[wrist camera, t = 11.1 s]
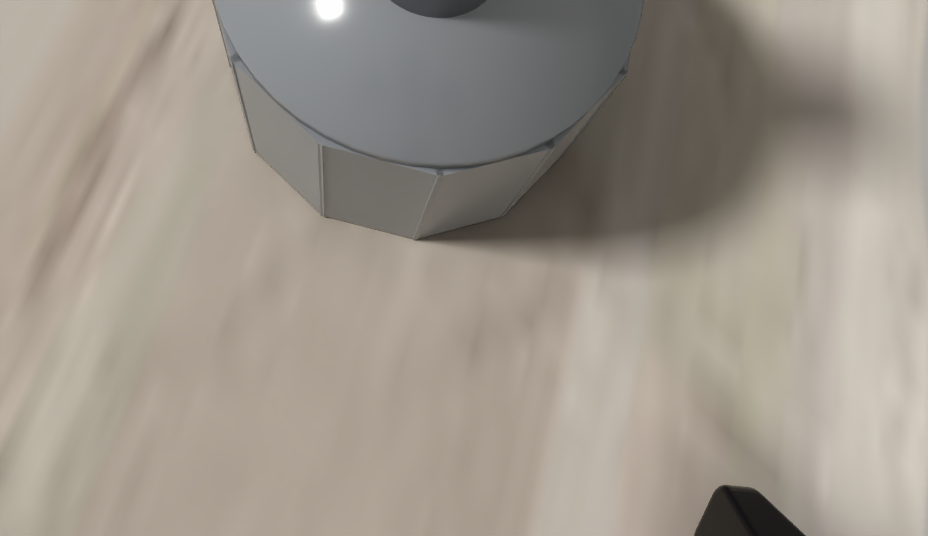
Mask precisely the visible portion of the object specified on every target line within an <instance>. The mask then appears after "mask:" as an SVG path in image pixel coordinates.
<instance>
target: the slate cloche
mask: <svg viewBox="0 0 928 536" xmlns="http://www.w3.org/2000/svg"><path fill="white" fill-rule="evenodd" d="M212 1H213V4H214V8H215V12H216V16H217V20H218V23H219V27H220V31H221V35H222V38H223V42H224V46H225V50H226V53H227V57H228V61H229V65H230V67H231V68H232V72H233V76H234V79H235V83H236V87H237V91H238V95H239V99H240V102H241V106H242V110H243V114H244V118H245V121H246V125H247V129H248V133H249V137H250V140H251V144H252V148H253V150H254V151H255V153H257V154H258V155H259V156H260V157H261V158H262V159H263V160H264V161H266V162H267V163H268V164H269V165H270V166H271V167H272V168H273V169H274V170H275V171H276V172H277V173H278V174H279V175H280V176H281V177H282V178H283V179H284V180H286V181H287V182H288V183H289V184H290V185H291V186H292V187H293V188H294V189H295V190H296V191H297V192H298V193H299V194H300V195H301V196H302V197H303V198H305V199H306V200H307V201H308V202H309V203H310V204H311V205H312V206H313V207H314V208H315V209H316V210H317V211H318V212H319V213H320V214H321V215H322V216H324V217H329V218H333V219H337V220H341V221H345V222H349V223H353V224H357V225H360V226H364V227H368V228H372V229H376V230H380V231H384V232H388V233H391V234H395V235H399V236H403V237H407V238H411V239H413V240H417V239H419V238H423V237H427V236H430V235H434V234H438V233H442V232H446V231H449V230H453V229H457V228H461V227H465V226H468V225H472V224H476V223H480V222H483V221H487V220H491V219H495V218H499V217H501V218H502V217H503V216H505V215H506V213H507V212H508V211H509V209H510V208H511V207H512V206H513V205H514V204H515V203H516V202H517V201H518V200H519V199H520V198H521V197H522V196H523V195H524V194H525V193H526V192H527V191H528V190H529V189H530V188H531V187H532V186H533V185H534V184H535V183H536V181H537V180H538V179H539V178H540V177H541V176H542V175H543V174H544V173H545V172H546V171H547V170H548V169H549V168H550V167H551V166H552V165H553V164H554V163H555V162H556V161H557V160H558V159H559V158H561V157H562V156H563V154H564V153H565V152H566V151H567V149H568V148H569V147H570V146H571V144H572V143H573V142H574V140H575V139H576V138H577V137H578V135H579V134H580V133H581V132H582V130H583V129H584V128H585V126H586V125H587V124H588V123H589V121H590V120H591V119H592V118H593V116H594V115H595V114H596V113H597V111H598V110H599V109H600V107H601V106H602V105H603V104H604V102H605V101H606V100H607V99H608V97H609V96H610V95H611V94H612V92H613V91H614V90H615V88H616V87H617V86H618V85H619V83H620V82H621V81H622V80H623V78H624V77H625V76H626V73H627V66H628V61H629V55H630V50H631V48H632V45H633V43H634V41H635V38H636V34H637V31H638V27H639V23H640V19H641V15H642V7H643V0H212Z"/></svg>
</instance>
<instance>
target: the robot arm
mask: <svg viewBox="0 0 928 536" xmlns="http://www.w3.org/2000/svg"><path fill="white" fill-rule="evenodd" d="M694 536H805V535H804V534H803V533H802V532H801V531H800V530H799V529H798V528H797V527H796V526H795V525H794V524H793V523H792V522H791V521H789V520H788V519H787V518H786V517H785V516H784V515H783V514H782V513H781V512H780V511H779V510H778V509H777V508H776V507H775V506H774V505H772V504H771V503H770V502H769V501H768V500H767V499H766V498H765V497H764V496H763V495H762V494H761V493H759V492H758V491H757V490H755V489H753V488H750V487H741V486H730V485H723V486H720V487H718V488H717V489H716V490H715V492H714V493H713V495H712V497H711V499H710V501H709V504H708V506H707V508H706V510H705V512H704V514H703V516H702V518H701V520H700V523H699V525H698V527H697V529H696V532H695V535H694Z"/></svg>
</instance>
